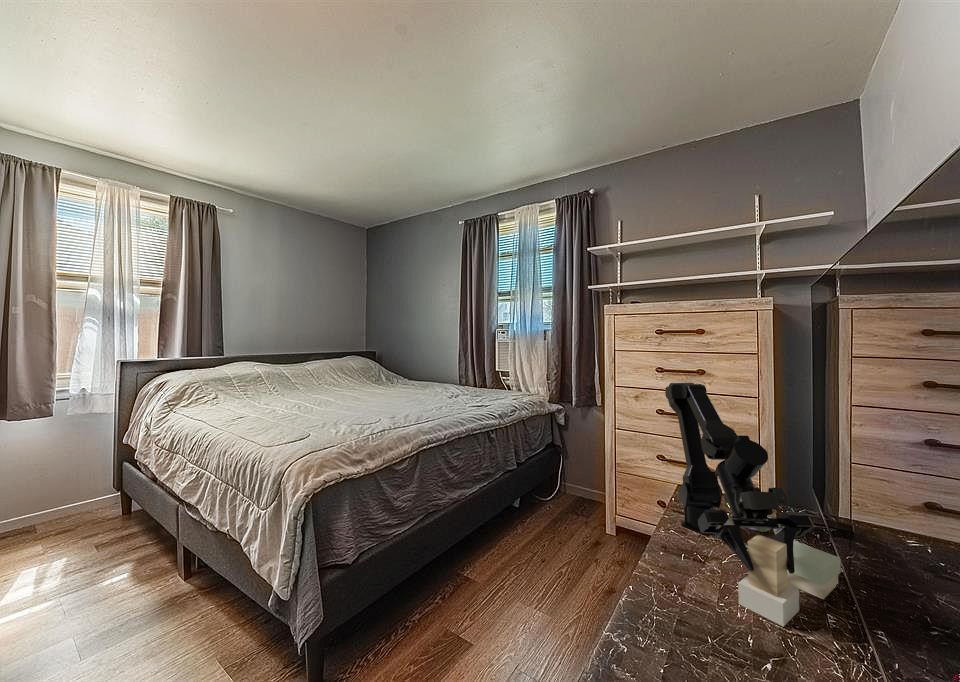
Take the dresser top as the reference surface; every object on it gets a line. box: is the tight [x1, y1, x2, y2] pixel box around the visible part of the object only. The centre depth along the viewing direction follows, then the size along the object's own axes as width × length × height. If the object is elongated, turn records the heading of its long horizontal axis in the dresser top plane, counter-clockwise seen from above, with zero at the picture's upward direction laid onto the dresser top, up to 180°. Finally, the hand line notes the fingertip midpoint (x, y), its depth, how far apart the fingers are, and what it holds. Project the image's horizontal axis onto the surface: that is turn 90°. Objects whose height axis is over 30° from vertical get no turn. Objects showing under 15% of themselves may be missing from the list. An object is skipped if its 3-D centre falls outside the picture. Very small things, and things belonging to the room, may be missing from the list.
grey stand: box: [737, 574, 800, 628], centre depth 71 cm, size 7×7×4 cm
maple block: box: [747, 533, 788, 597], centre depth 71 cm, size 4×4×8 cm
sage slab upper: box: [787, 540, 842, 586], centre depth 78 cm, size 8×8×3 cm
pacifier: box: [747, 515, 772, 533], centre depth 100 cm, size 7×6×6 cm
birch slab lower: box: [787, 571, 839, 600], centre depth 78 cm, size 8×8×3 cm
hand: (772, 572), depth 70 cm, fingers closed on maple block, 6 cm apart
